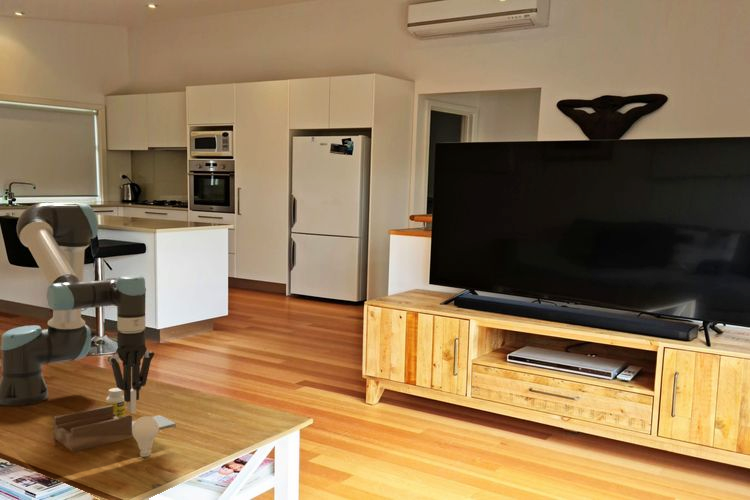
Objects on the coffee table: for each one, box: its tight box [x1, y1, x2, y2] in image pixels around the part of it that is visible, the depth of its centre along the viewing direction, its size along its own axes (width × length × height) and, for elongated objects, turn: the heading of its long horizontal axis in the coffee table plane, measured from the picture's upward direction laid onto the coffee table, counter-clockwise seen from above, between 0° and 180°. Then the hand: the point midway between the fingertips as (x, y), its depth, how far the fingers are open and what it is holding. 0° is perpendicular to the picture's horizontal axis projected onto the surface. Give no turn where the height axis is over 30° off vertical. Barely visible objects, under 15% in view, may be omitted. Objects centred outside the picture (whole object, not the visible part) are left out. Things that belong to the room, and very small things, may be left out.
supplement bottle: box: [105, 387, 126, 418], centre depth 203 cm, size 5×5×10 cm
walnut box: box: [53, 405, 133, 453], centre depth 187 cm, size 13×16×7 cm
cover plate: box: [132, 414, 177, 437], centre depth 198 cm, size 10×14×2 cm
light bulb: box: [132, 415, 160, 459], centre depth 177 cm, size 7×7×11 cm
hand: (131, 411), depth 195 cm, fingers closed
